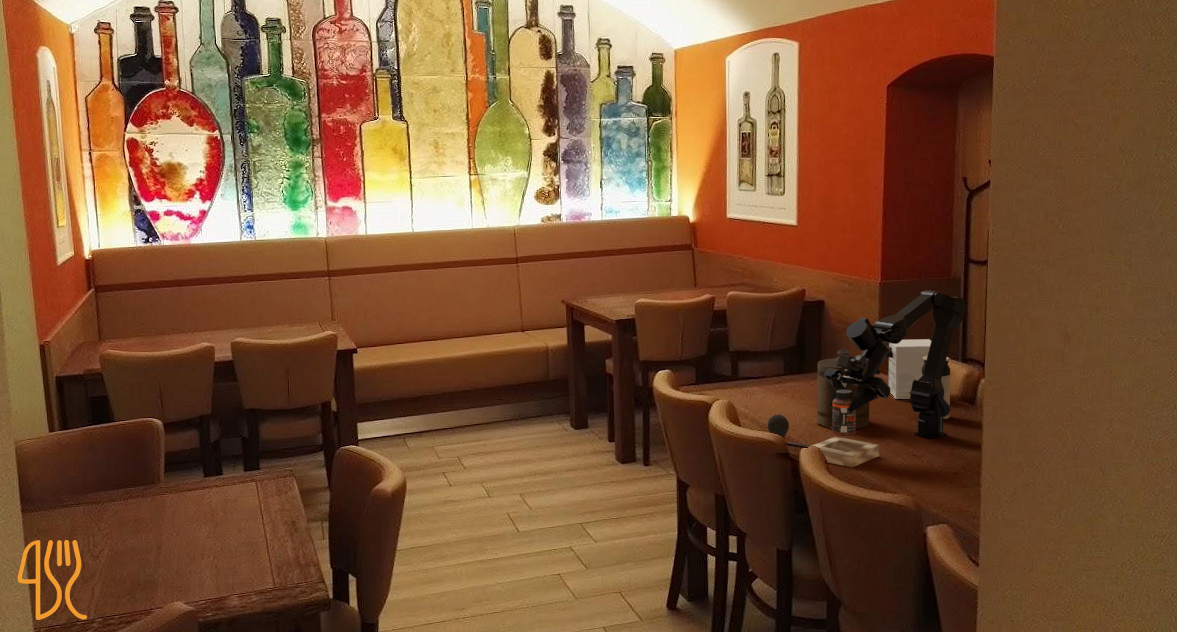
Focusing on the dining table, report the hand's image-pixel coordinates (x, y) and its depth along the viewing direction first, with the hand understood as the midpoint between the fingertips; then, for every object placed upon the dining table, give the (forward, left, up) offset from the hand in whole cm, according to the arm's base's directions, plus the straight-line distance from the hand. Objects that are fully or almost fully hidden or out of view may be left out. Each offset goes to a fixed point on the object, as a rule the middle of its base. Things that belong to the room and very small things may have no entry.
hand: (840, 409), depth 264 cm
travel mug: (-51, -15, -13) cm, 55 cm away
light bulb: (+9, -14, -13) cm, 21 cm away
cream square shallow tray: (-1, 0, -13) cm, 13 cm away
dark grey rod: (+1, -13, -13) cm, 18 cm away
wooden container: (-25, -26, -13) cm, 39 cm away
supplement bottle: (-1, 0, -7) cm, 7 cm away
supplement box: (-67, -39, -13) cm, 79 cm away
